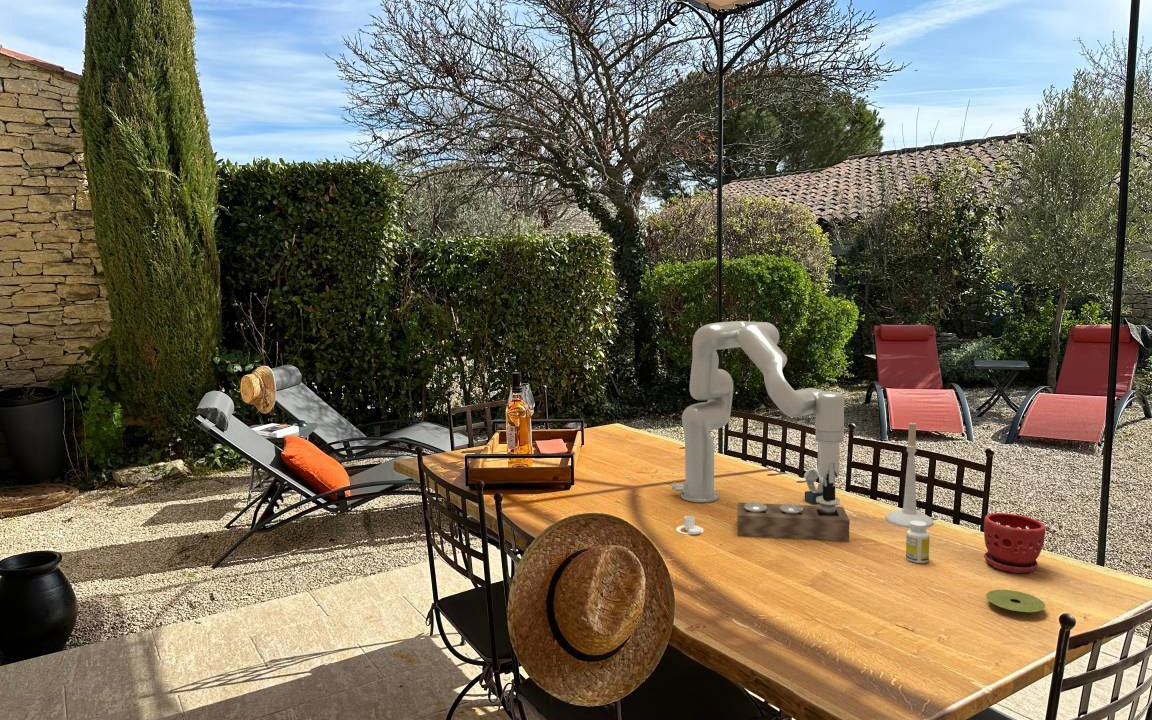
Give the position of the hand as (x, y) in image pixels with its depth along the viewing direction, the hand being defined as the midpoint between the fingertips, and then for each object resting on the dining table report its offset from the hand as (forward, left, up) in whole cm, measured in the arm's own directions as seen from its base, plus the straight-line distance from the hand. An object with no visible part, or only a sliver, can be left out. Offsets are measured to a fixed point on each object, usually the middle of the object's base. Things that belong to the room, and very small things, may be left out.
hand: (828, 499), depth 211 cm
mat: (+34, -43, -10) cm, 56 cm away
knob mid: (-10, 0, -8) cm, 13 cm away
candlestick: (+25, +14, -10) cm, 30 cm away
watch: (0, +29, -10) cm, 31 cm away
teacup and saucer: (-41, -5, -11) cm, 42 cm away
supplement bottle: (+20, -17, -10) cm, 28 cm away
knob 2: (0, 0, -5) cm, 5 cm away
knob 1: (-20, 0, -8) cm, 22 cm away
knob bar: (-10, 0, -10) cm, 14 cm away
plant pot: (+42, -18, -10) cm, 47 cm away
